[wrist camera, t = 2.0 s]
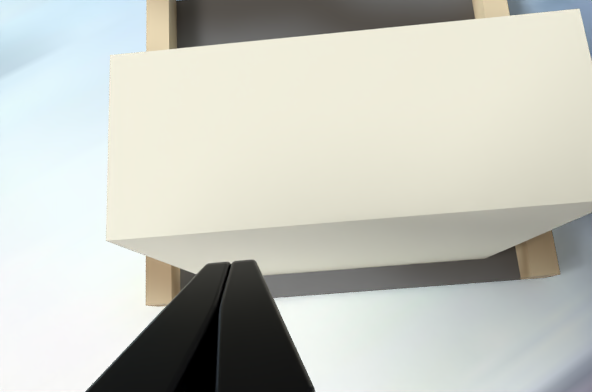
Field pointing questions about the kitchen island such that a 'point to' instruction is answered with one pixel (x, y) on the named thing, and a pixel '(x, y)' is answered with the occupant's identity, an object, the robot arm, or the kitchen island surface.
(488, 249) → the block
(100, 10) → the kitchen island surface
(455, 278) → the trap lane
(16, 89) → the kitchen island surface
